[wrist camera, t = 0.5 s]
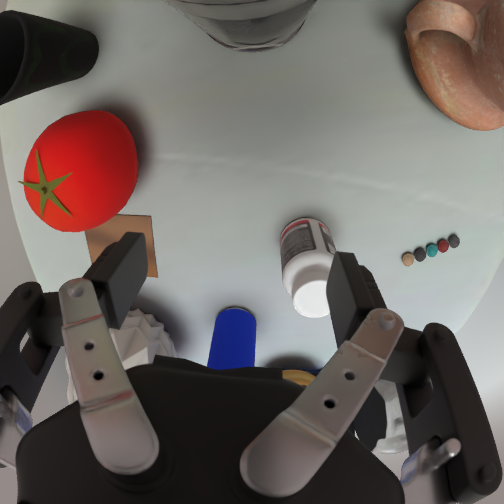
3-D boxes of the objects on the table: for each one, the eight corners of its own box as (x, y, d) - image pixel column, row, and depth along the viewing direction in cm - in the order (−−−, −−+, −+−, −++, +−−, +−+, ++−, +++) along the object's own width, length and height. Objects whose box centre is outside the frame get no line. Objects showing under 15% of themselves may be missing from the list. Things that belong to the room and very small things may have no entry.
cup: (43, 85, 23) (-38, 104, 13) (59, 20, 19) (-21, 15, 9) (96, 93, 24) (16, 113, 14) (117, 23, 21) (40, 6, 10)
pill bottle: (276, 258, 34) (278, 321, 25) (283, 213, 31) (289, 269, 22) (324, 263, 34) (340, 325, 25) (335, 219, 31) (358, 275, 22)
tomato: (167, 120, 26) (116, 144, 17) (139, 213, 31) (94, 271, 22) (79, 93, 24) (8, 111, 15) (62, 183, 30) (2, 226, 20)
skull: (353, 356, 39) (426, 329, 43) (331, 425, 47) (396, 398, 51) (404, 423, 28) (477, 377, 32) (364, 480, 36) (432, 443, 39)
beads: (455, 232, 31) (460, 235, 29) (457, 243, 31) (462, 247, 30) (399, 254, 33) (403, 258, 31) (402, 265, 33) (405, 269, 32)
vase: (172, 277, 36) (121, 415, 20) (209, 364, 44) (190, 477, 28) (72, 288, 38) (7, 390, 22) (119, 364, 46) (85, 457, 30)
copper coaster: (81, 213, 32) (81, 213, 31) (150, 216, 31) (150, 216, 31) (94, 270, 36) (93, 270, 36) (157, 277, 36) (157, 277, 36)
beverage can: (217, 333, 40) (201, 433, 27) (214, 304, 37) (193, 410, 25) (256, 334, 40) (251, 436, 27) (256, 305, 37) (250, 414, 24)
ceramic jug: (515, 36, 17) (605, 46, 4) (499, 144, 24) (587, 194, 12) (380, -36, 16) (453, -92, 4) (363, 92, 24) (444, 109, 12)
